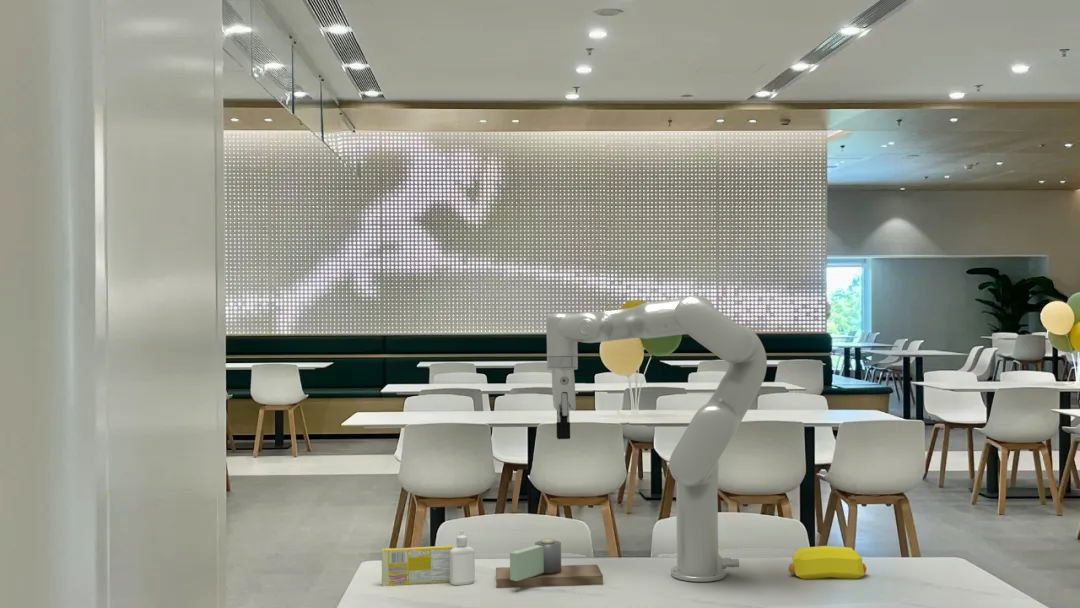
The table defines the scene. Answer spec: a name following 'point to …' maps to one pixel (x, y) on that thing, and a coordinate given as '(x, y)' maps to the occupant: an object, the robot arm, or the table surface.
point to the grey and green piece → (536, 559)
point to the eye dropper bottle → (462, 562)
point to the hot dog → (827, 563)
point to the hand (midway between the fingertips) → (563, 438)
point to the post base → (553, 577)
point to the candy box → (416, 565)
